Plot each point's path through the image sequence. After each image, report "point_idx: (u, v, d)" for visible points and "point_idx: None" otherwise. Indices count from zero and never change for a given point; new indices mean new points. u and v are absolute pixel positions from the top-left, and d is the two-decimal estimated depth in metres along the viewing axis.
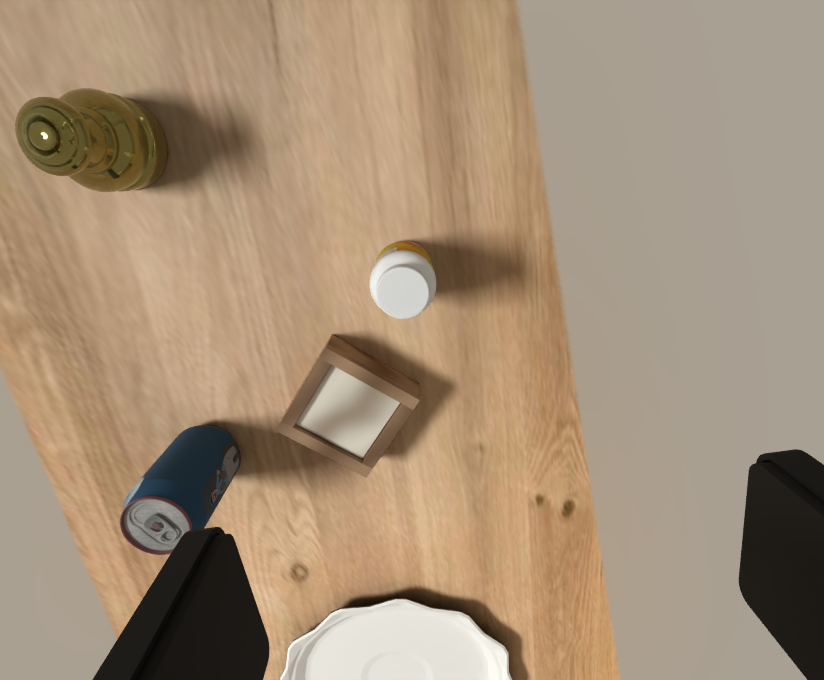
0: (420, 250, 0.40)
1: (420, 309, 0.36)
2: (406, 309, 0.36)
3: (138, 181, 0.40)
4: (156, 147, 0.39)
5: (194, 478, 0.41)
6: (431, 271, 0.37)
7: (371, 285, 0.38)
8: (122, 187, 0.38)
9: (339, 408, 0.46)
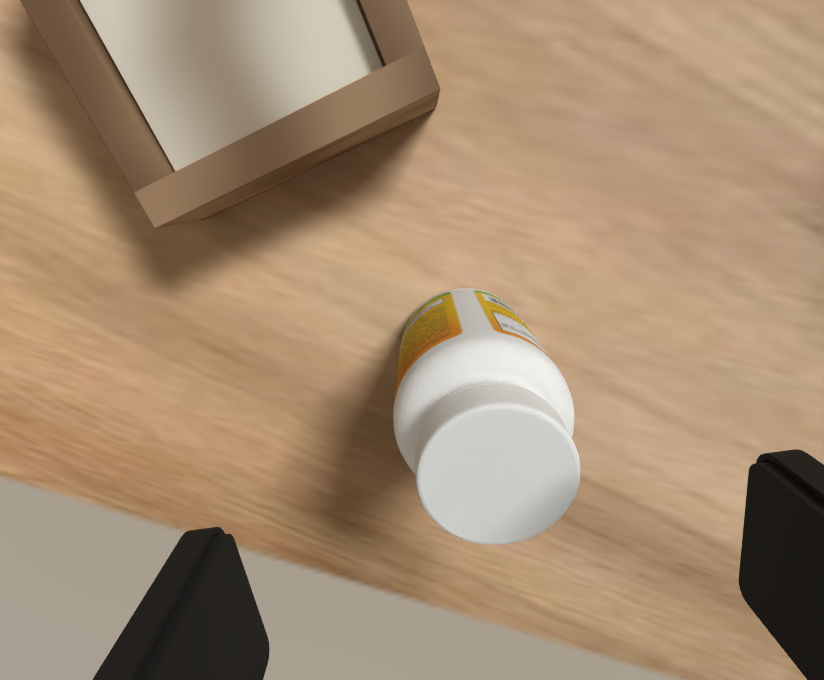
0: None
1: (425, 494, 0.12)
2: (450, 462, 0.11)
3: None
4: None
5: None
6: None
7: (541, 364, 0.13)
8: None
9: None
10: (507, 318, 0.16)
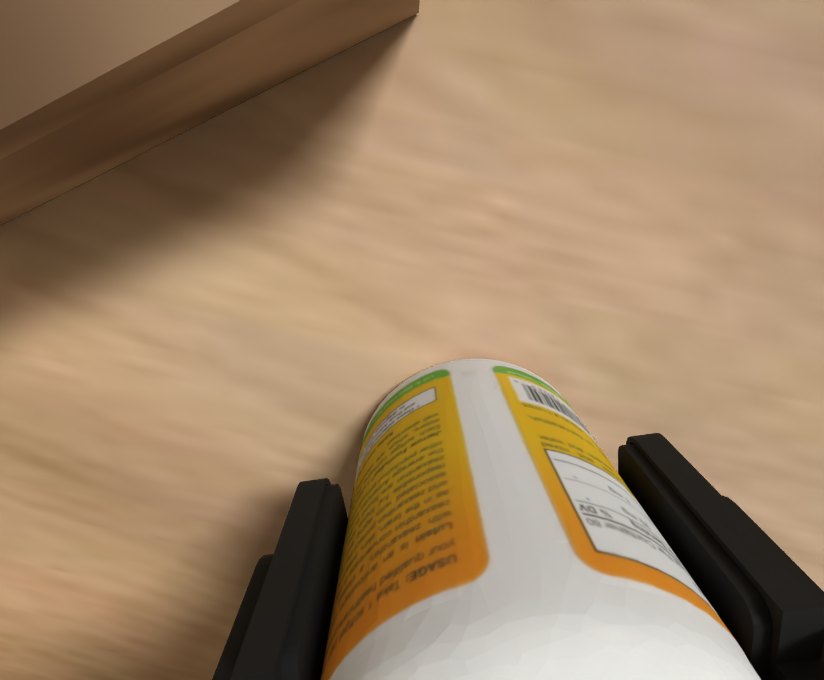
0: None
1: None
2: None
3: None
4: None
5: None
6: None
7: None
8: None
9: None
10: (580, 466, 0.07)
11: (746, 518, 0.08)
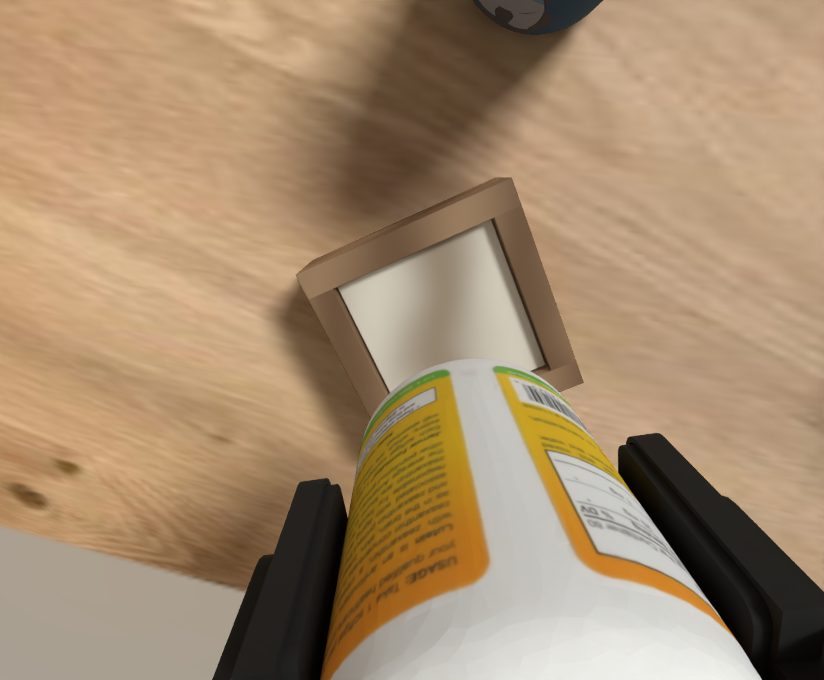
0: None
1: None
2: None
3: None
4: None
5: None
6: None
7: None
8: None
9: (463, 318, 0.22)
10: (581, 467, 0.07)
11: (746, 519, 0.08)
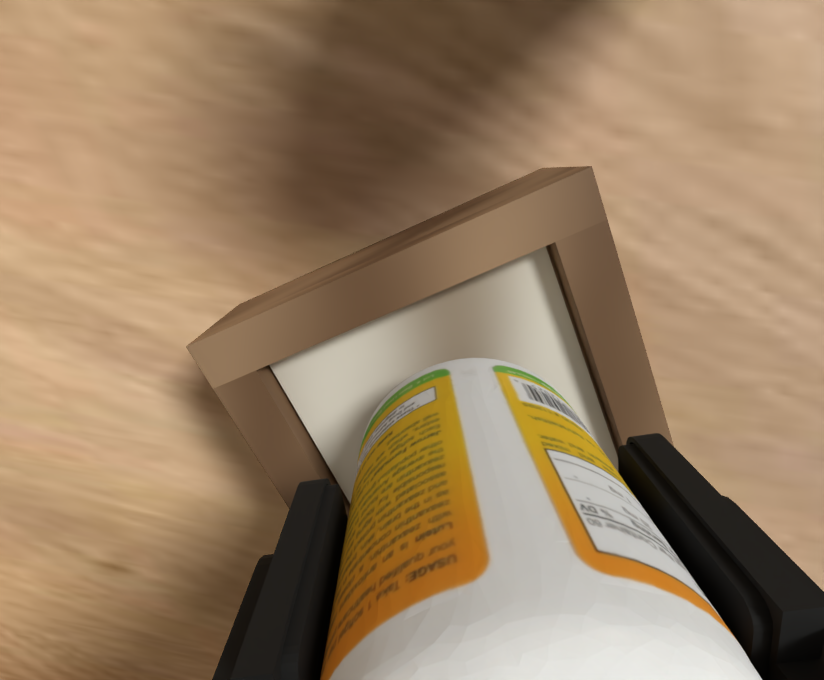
0: None
1: None
2: None
3: None
4: None
5: None
6: None
7: None
8: None
9: None
10: (580, 466, 0.07)
11: (746, 519, 0.08)
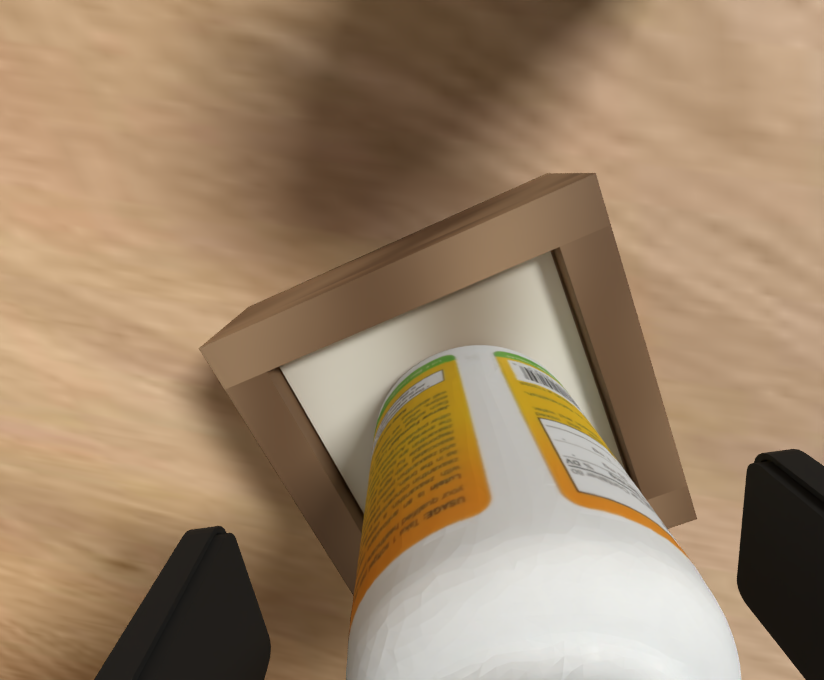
0: None
1: None
2: None
3: None
4: None
5: None
6: None
7: (683, 595, 0.06)
8: None
9: None
10: (568, 431, 0.08)
11: None
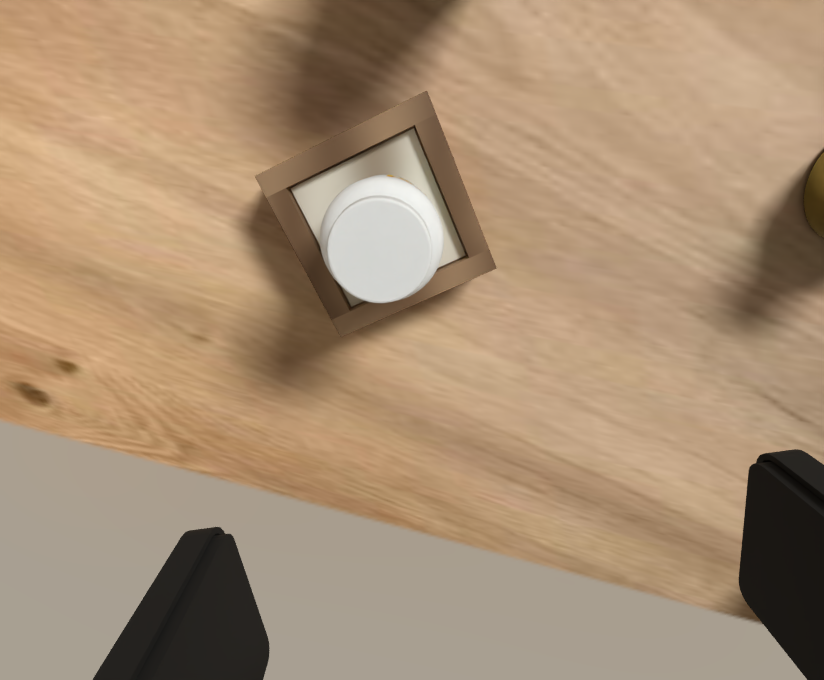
0: None
1: (333, 265, 0.18)
2: (347, 241, 0.18)
3: None
4: None
5: None
6: None
7: (415, 192, 0.20)
8: None
9: None
10: None
11: None
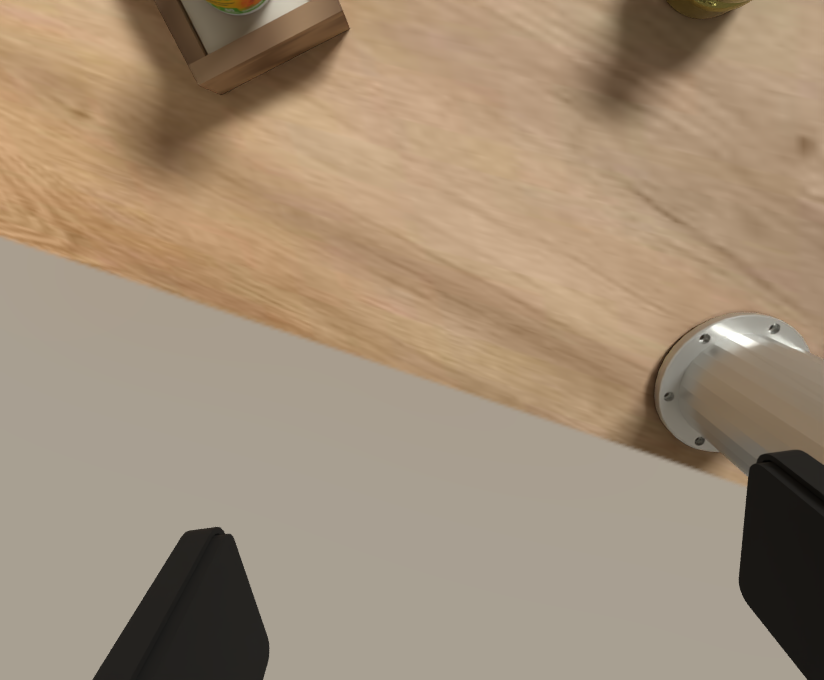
0: None
1: None
2: None
3: None
4: None
5: None
6: None
7: None
8: None
9: None
10: None
11: None
